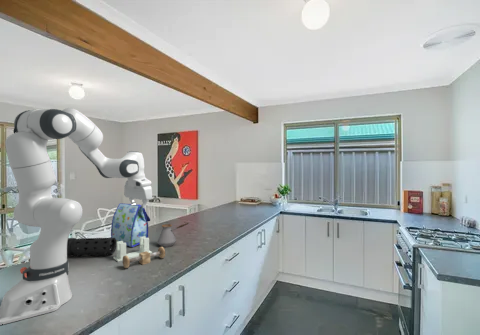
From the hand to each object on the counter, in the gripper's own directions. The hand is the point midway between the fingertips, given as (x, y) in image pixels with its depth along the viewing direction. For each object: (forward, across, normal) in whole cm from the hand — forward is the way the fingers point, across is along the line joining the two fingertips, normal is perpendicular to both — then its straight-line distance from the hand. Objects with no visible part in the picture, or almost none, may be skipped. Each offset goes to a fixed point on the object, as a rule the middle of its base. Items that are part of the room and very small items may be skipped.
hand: (138, 206), depth 136 cm
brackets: (+30, -8, 0) cm, 31 cm away
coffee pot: (+32, -3, +25) cm, 41 cm away
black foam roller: (+30, -30, -15) cm, 44 cm away
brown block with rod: (+29, +7, -3) cm, 30 cm away
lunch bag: (+32, -32, +13) cm, 48 cm away
